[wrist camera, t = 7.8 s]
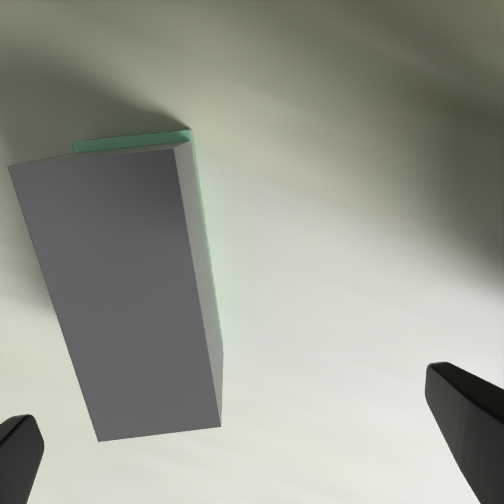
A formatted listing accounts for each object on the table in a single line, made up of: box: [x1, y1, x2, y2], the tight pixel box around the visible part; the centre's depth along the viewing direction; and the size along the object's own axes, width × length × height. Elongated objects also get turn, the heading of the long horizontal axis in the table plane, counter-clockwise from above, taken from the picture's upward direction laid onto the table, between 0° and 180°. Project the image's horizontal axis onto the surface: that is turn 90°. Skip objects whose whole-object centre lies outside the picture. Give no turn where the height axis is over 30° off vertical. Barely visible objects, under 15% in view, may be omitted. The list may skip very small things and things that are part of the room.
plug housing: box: [8, 140, 223, 442], centre depth 15 cm, size 5×11×5 cm, turn 6°
